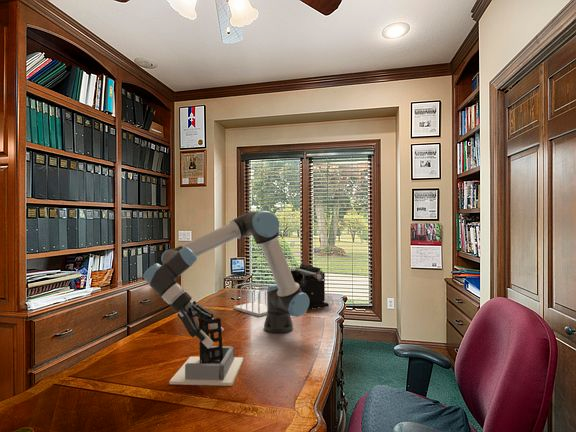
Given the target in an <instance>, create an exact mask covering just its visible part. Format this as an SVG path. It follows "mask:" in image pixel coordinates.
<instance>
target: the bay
mask: <svg viewBox="0 0 576 432" xmlns="http://www.w3.org/2000/svg"><path fill="white" fill-rule="evenodd" d="M218 346H219V345H212V346H211V347H210V348H213V347H218ZM222 347H223V360H222V361H221V363H220V364H204V363H200V356H189V357H188V358H187V360H186V361H185V362H184V363H183V364H182V366H181V367H179V369H178V370H177V371H176V373H175V374H174V375H173V377H172V378H171V379H170V380H169V381H168V385H186V386H188V385H189V386H224V387H225V386H230V387H231V386H233V385H234V383H235V380H236V378H237V377H238V374H239V372H240V369H241V367H242V364H243V362H244V360H245V359H244V357H243V356H242V357H237V356H236V357H235V346H234V345H233V346H230V345H228V346H227V345H222ZM218 355H220V353H219V350H217V351H215V356H218ZM210 356H211V357H212V354H211V352H210ZM216 361H220V359H218V360H216ZM201 362H202V360H201Z"/></svg>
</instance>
